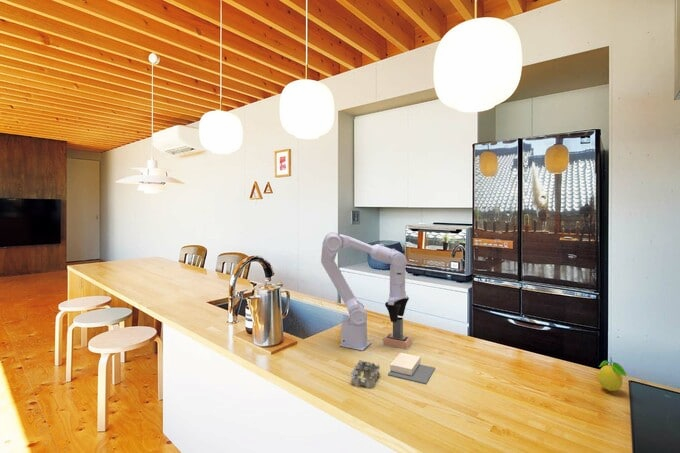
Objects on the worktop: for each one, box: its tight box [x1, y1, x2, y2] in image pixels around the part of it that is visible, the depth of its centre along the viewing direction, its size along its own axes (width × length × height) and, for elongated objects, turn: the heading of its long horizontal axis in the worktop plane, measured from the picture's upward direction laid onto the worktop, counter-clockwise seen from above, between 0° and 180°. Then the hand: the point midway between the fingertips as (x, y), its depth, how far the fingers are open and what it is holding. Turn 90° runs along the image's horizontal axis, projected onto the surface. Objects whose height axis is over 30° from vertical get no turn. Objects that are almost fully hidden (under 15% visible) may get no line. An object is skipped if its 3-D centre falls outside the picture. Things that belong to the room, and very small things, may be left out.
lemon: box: [597, 357, 627, 392], centre depth 100 cm, size 7×6×10 cm
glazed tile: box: [389, 352, 422, 376], centre depth 115 cm, size 7×2×10 cm
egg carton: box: [350, 359, 381, 389], centre depth 109 cm, size 11×8×4 cm
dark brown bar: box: [389, 316, 408, 341], centre depth 134 cm, size 3×6×10 cm, turn 61°
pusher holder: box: [382, 332, 412, 350], centre depth 135 cm, size 6×9×2 cm
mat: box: [387, 363, 436, 385], centre depth 113 cm, size 12×11×1 cm
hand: (397, 318), depth 134 cm, fingers open, 7 cm apart
